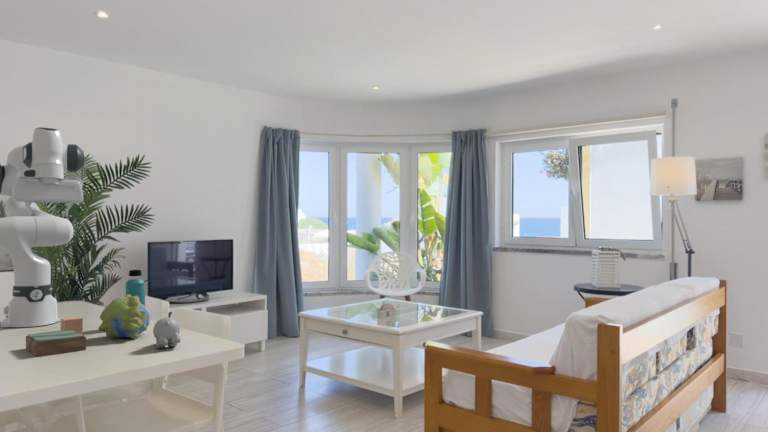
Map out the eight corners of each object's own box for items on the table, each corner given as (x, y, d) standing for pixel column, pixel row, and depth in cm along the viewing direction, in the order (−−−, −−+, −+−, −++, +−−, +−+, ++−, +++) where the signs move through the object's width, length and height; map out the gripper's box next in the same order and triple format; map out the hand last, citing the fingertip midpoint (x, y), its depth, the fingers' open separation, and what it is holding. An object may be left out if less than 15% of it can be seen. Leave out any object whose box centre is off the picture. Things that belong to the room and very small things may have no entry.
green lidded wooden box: (25, 348, 157) (26, 334, 157) (72, 342, 166) (72, 328, 166) (37, 356, 147) (37, 341, 147) (85, 349, 156) (85, 335, 156)
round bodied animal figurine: (174, 351, 165) (172, 323, 168) (183, 342, 156) (181, 313, 159) (148, 354, 161) (147, 325, 164) (157, 345, 152) (155, 315, 155)
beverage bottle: (140, 328, 188) (140, 270, 188) (121, 328, 188) (121, 270, 188) (148, 324, 194) (149, 268, 195) (130, 324, 194) (130, 268, 195)
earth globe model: (146, 285, 180) (96, 290, 172) (155, 305, 168) (101, 312, 160) (146, 323, 184) (96, 330, 176) (154, 346, 171) (101, 354, 163)
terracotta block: (60, 337, 174) (60, 318, 174) (78, 334, 177) (78, 316, 177) (64, 339, 170) (64, 320, 170) (82, 337, 174) (82, 318, 174)
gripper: (80, 178, 191) (81, 217, 189) (10, 174, 177) (10, 216, 175) (85, 175, 186) (86, 215, 185) (14, 171, 172) (14, 214, 171)
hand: (49, 216), depth 180 cm, fingers open, 8 cm apart
